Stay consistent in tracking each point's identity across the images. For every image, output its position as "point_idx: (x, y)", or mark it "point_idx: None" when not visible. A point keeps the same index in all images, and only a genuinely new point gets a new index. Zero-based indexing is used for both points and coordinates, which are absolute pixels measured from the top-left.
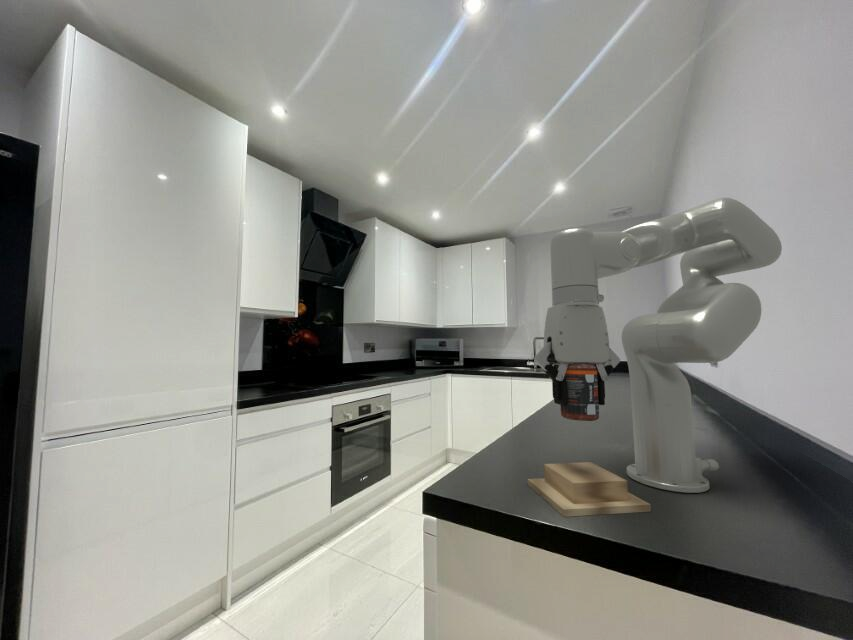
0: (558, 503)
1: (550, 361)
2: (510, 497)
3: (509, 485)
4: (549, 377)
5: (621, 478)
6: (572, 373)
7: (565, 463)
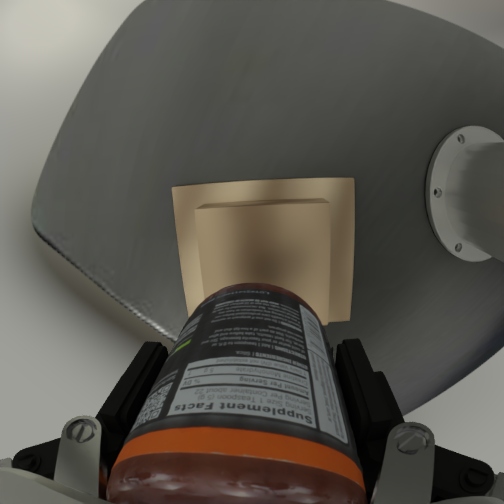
0: (189, 305)
1: (24, 479)
2: (128, 244)
3: (139, 187)
4: (70, 423)
5: (325, 314)
6: None
7: (254, 208)
